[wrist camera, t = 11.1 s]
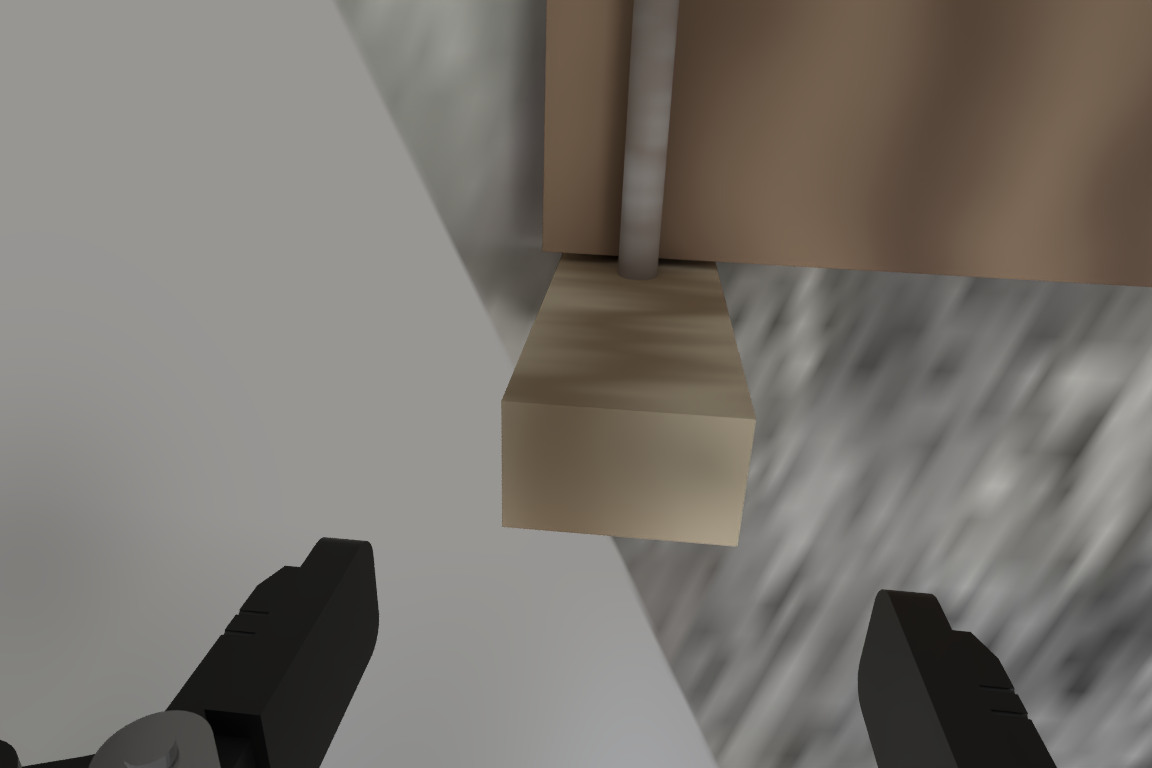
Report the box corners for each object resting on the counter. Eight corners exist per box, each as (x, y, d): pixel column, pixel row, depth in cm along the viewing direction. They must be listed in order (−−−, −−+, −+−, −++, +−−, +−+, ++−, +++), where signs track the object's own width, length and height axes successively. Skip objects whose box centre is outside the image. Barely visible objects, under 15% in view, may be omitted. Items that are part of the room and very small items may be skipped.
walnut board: (1493, -175, 20) (1582, -197, 18) (1295, 278, 25) (1348, 299, 23) (559, -192, 21) (549, -214, 20) (550, 236, 26) (541, 252, 25)
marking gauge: (751, -80, 22) (846, -189, 11) (704, 340, 27) (737, 546, 16) (574, -84, 22) (497, -195, 11) (562, 331, 28) (502, 527, 17)
